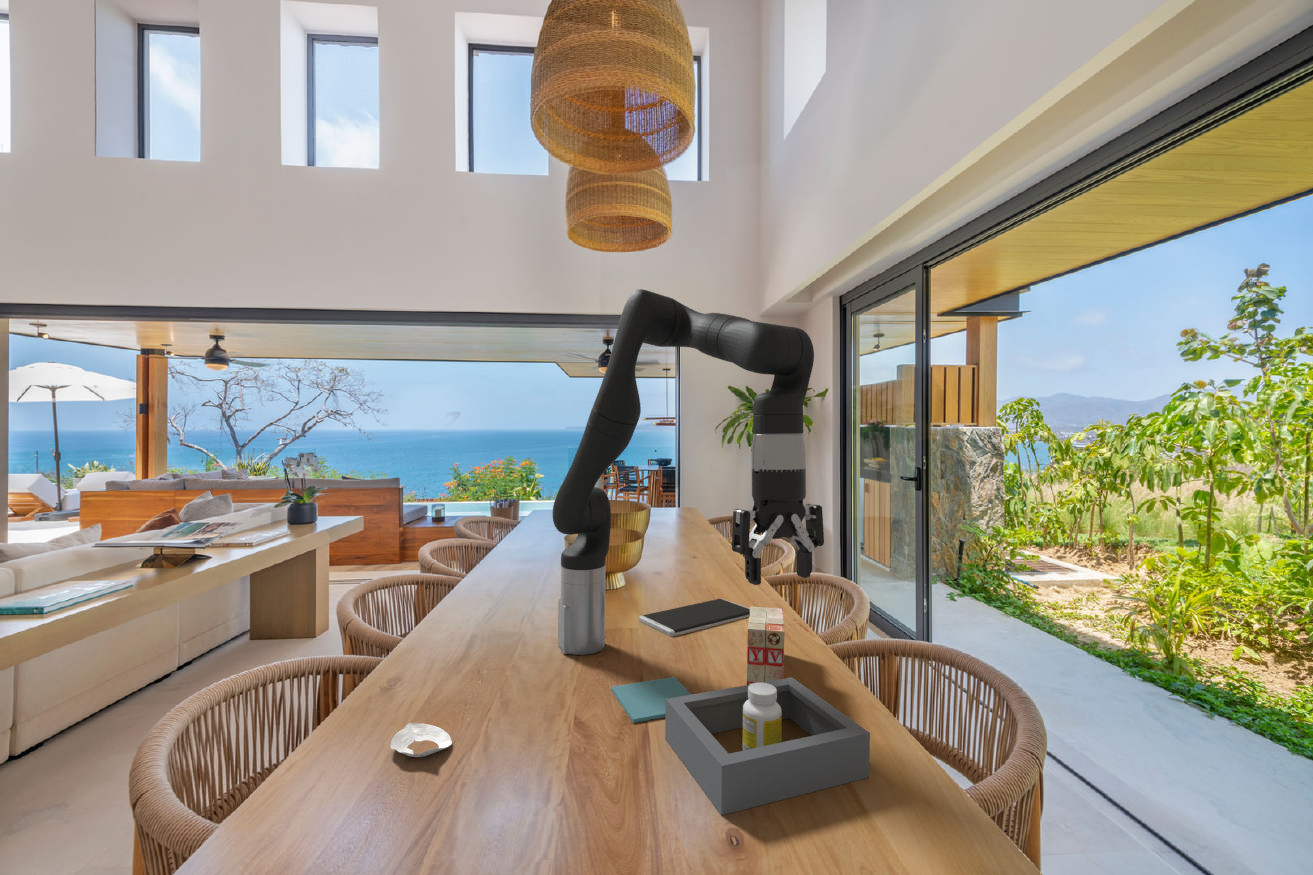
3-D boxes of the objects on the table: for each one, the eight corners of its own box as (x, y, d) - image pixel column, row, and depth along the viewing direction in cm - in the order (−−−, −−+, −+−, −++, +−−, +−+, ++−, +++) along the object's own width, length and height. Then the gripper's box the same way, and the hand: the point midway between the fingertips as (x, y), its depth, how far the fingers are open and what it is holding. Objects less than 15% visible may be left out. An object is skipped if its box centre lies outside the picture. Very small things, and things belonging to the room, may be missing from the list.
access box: (721, 815, 70) (721, 765, 69) (665, 738, 86) (665, 698, 86) (869, 777, 77) (869, 732, 77) (791, 713, 94) (792, 677, 94)
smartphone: (758, 617, 144) (758, 610, 144) (671, 639, 128) (671, 631, 128) (721, 603, 155) (721, 597, 155) (637, 622, 139) (637, 615, 139)
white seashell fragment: (401, 775, 76) (402, 755, 77) (380, 741, 86) (381, 723, 86) (461, 759, 81) (462, 740, 81) (435, 728, 91) (435, 711, 91)
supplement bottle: (783, 750, 84) (784, 683, 83) (778, 772, 78) (779, 700, 78) (745, 743, 85) (746, 677, 85) (738, 764, 80) (739, 693, 80)
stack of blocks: (750, 651, 121) (750, 592, 120) (780, 653, 120) (781, 594, 119) (746, 698, 100) (747, 627, 99) (783, 702, 99) (784, 630, 98)
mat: (633, 722, 91) (633, 719, 91) (611, 690, 102) (611, 686, 102) (702, 710, 95) (702, 706, 95) (674, 679, 106) (674, 676, 106)
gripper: (801, 463, 89) (802, 569, 89) (721, 466, 83) (722, 580, 83) (835, 465, 82) (836, 580, 82) (751, 468, 76) (752, 592, 76)
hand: (779, 580), depth 83 cm, fingers open, 8 cm apart
